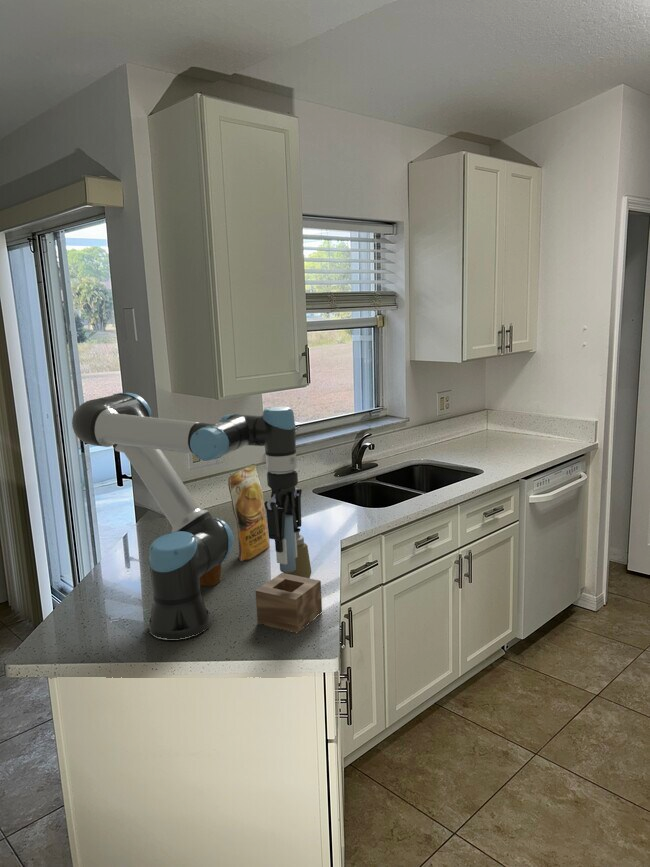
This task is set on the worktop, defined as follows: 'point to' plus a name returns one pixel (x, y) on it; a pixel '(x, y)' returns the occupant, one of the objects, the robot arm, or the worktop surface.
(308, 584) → the socket block
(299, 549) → the squeeze bottle
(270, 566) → the worktop surface
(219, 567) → the disposable coffee cup
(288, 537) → the dowel
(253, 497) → the pancake mix bag
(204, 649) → the worktop surface
